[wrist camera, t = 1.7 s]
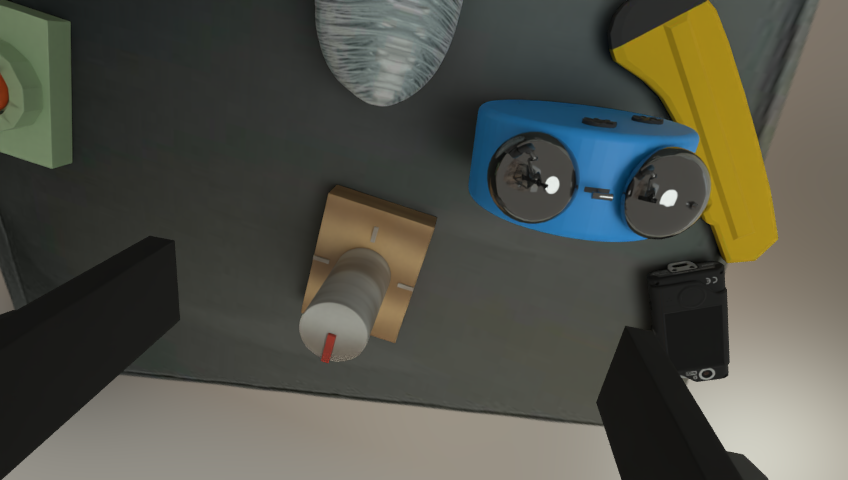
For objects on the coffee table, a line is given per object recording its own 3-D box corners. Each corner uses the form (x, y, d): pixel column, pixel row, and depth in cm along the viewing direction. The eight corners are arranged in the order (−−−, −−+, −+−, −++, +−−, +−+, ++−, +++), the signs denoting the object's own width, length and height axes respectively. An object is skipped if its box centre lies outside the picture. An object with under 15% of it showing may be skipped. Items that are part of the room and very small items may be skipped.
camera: (633, 271, 39) (645, 373, 43) (646, 287, 37) (658, 394, 41) (711, 254, 39) (716, 359, 43) (730, 269, 36) (734, 380, 40)
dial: (343, 240, 39) (304, 295, 30) (397, 258, 39) (374, 318, 30) (330, 287, 41) (291, 352, 32) (383, 304, 41) (357, 373, 32)
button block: (-27, -11, 37) (-83, -17, 33) (70, 21, 37) (25, 19, 33) (-14, 134, 42) (-61, 143, 38) (72, 163, 42) (33, 174, 38)
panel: (337, 184, 40) (327, 193, 37) (437, 217, 40) (434, 228, 37) (309, 298, 44) (300, 313, 42) (399, 327, 45) (394, 344, 42)
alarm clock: (469, 168, 38) (462, 240, 24) (480, 89, 35) (479, 119, 22) (633, 187, 37) (723, 273, 23) (655, 108, 34) (771, 151, 21)
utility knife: (601, 16, 31) (594, 16, 32) (700, 284, 38) (690, 272, 40) (709, -44, 29) (696, -40, 31) (792, 251, 36) (777, 240, 38)
